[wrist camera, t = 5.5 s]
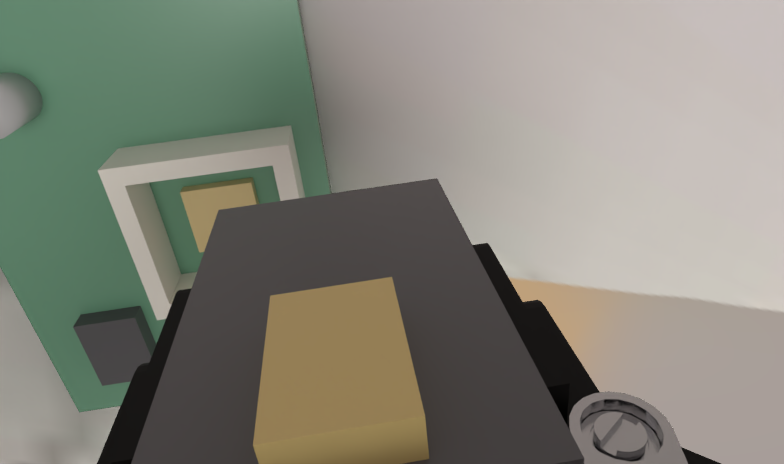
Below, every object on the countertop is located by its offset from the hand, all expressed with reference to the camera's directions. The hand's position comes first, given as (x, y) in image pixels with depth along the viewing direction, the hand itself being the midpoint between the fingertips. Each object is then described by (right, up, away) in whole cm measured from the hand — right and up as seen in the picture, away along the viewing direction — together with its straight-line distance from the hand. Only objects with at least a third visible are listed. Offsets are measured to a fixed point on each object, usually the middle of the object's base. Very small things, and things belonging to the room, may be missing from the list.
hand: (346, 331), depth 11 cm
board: (-10, +3, +16) cm, 19 cm away
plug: (0, +1, +1) cm, 2 cm away
